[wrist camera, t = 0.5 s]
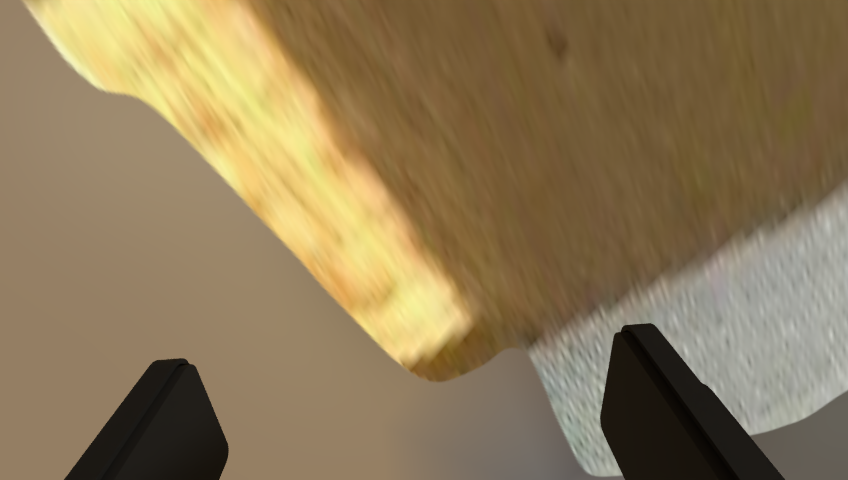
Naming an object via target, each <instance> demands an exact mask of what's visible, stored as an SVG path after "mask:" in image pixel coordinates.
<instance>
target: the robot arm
mask: <svg viewBox="0 0 848 480" xmlns="http://www.w3.org/2000/svg"><path fill="white" fill-rule="evenodd" d="M600 421H601V427H602V431H603V433H604V436H605V438H606V440H607V442H608V444H609V446H610V448H611V451H612V453H613V455H614V457H615V459H616V461H617V463H618V465H619V468H620V470H621V472H622V474H623V476H624V478H625V480H785V479H784V478H783V477H782V475H781V474H780V473H779V472H778V470H777V469H776V468H775V467H774V466H773V464H772V463H771V462H770V461H769V459H768V458H767V457H766V456H765V455H764V453H763V452H762V451H761V450H760V449H759V448H758V446H757V445H756V444H755V442H754V441H753V440H752V439H751V437H750V436H749V435H748V434H747V433H746V431H745V430H744V429H743V428H742V426H741V425H740V424H739V423H738V422H737V420H736V419H735V418H734V417H733V415H732V414H731V413H730V412H729V411H728V409H727V408H726V407H725V406H724V404H723V403H722V402H721V401H720V400H719V398H718V397H717V396H716V395H715V393H714V392H713V391H712V390H711V389H710V388H709V387H708V386H706V385H705V384H703V383H701V382H700V381H699V379H698V378H697V377H696V376H695V374H694V373H693V372H692V371H691V369H690V368H689V367H688V366H687V364H686V363H685V362H684V361H683V359H682V358H681V357H680V356H679V354H678V353H677V352H676V351H675V350H674V348H673V347H672V346H671V345H670V343H669V342H668V341H667V340H666V338H665V337H664V336H663V335H662V333H661V332H660V331H659V330H658V328H657V327H656V326H655V325H653V324H651V323H648V324H635V325H625V326H623V328H622V330H621V332H618V333H615V335H614V339H613V345H612V350H611V356H610V362H609V368H608V374H607V380H606V386H605V392H604V398H603V404H602V409H601V415H600ZM227 458H228V443H227V441H226V438H225V436H224V434H223V431H222V429H221V426H220V424H219V422H218V419H217V417H216V415H215V412H214V410H213V407H212V405H211V402H210V400H209V397H208V395H207V393H206V390H205V388H204V385H203V383H202V381H201V378H200V376H199V373H198V371H197V369H196V367H195V366H194V365H192V364H189V363H188V361H187V360H186V359H181V358H180V359H168V360H157V361H155V362H153V363H152V364H151V365H150V366H149V367H148V369H147V370H146V371H145V373H144V374H143V376H142V377H141V378H140V379H139V381H138V382H137V383H136V385H135V386H134V387H133V389H132V390H131V391H130V393H129V394H128V396H127V397H126V398H125V399H124V401H123V402H122V403H121V405H120V406H119V407H118V409H117V410H116V411H115V413H114V414H113V415H112V417H111V418H110V419H109V421H108V422H107V423H106V425H105V426H104V427H103V429H102V430H101V431H100V433H99V434H98V435H97V437H96V438H95V439H94V441H93V442H92V443H91V445H90V446H89V447H88V449H87V450H86V451H85V453H84V454H83V455H82V457H81V458H80V459H79V461H78V462H77V463H76V465H75V466H74V467H73V469H72V470H71V471H70V473H69V474H68V475H67V477H66V478H65V479H64V480H219V479H220V476H221V474H222V471H223V469H224V467H225V464H226V461H227Z"/></svg>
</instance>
